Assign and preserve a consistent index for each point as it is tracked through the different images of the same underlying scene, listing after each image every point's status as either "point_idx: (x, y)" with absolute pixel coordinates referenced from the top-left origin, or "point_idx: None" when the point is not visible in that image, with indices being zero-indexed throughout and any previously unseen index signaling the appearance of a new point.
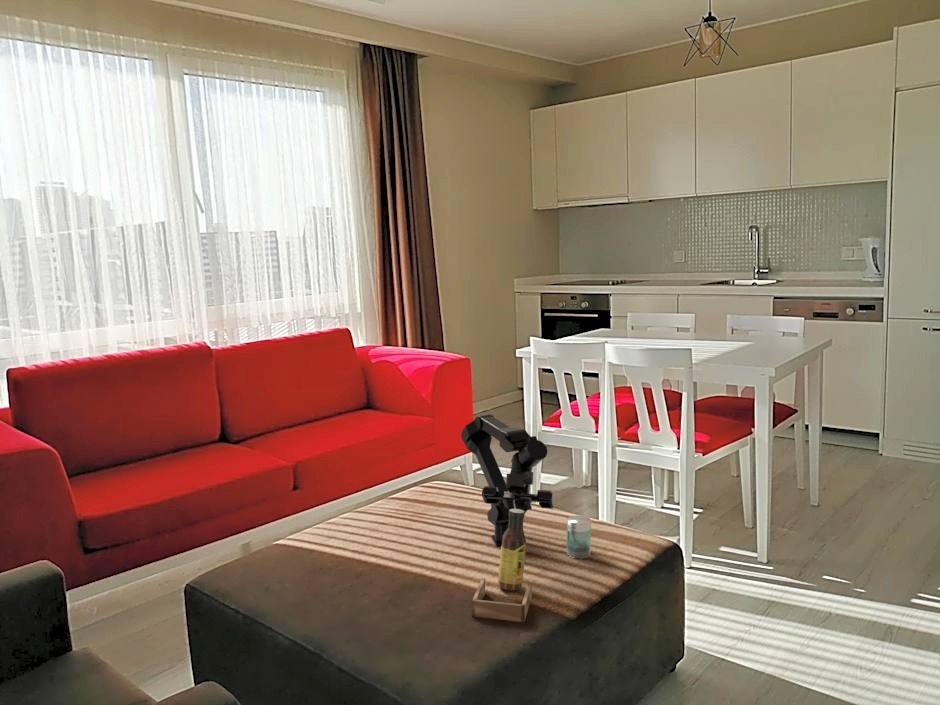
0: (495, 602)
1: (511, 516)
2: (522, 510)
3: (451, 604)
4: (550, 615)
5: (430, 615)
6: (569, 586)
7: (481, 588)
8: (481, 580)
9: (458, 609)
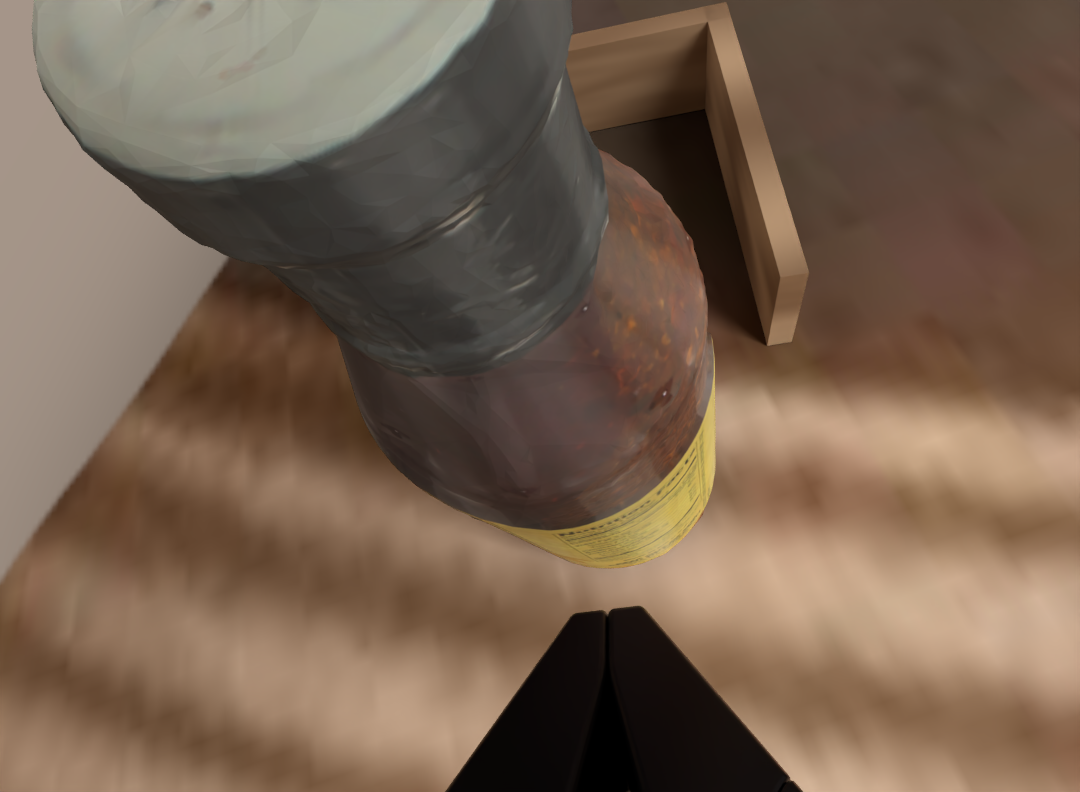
0: (570, 41)
1: None
2: (93, 81)
3: (913, 145)
4: None
5: (959, 13)
6: (171, 672)
7: (746, 172)
8: (792, 235)
9: (836, 118)
